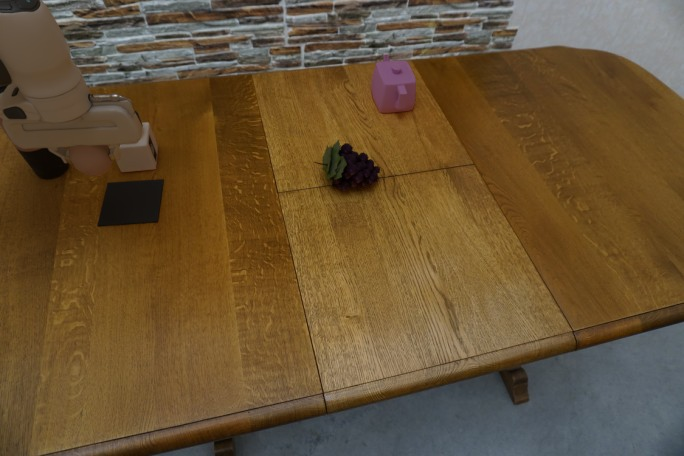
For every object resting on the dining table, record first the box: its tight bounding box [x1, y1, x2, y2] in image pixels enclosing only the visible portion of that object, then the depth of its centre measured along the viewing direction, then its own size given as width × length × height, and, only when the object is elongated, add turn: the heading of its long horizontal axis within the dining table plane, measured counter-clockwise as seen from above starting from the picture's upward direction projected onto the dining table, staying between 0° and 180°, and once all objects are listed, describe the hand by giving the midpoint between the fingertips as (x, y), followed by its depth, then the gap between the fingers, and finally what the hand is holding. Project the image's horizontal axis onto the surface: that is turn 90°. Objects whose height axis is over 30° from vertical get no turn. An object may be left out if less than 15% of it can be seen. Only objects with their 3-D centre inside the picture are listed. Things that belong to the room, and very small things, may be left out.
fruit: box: [313, 139, 381, 192], centre depth 102 cm, size 10×11×15 cm
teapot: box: [370, 54, 417, 114], centre depth 120 cm, size 18×10×10 cm, turn 11°
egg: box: [68, 145, 113, 177], centre depth 82 cm, size 7×7×9 cm
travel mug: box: [0, 83, 70, 180], centre depth 96 cm, size 8×8×20 cm
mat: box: [96, 178, 165, 228], centre depth 99 cm, size 12×12×1 cm
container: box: [109, 110, 159, 173], centre depth 102 cm, size 8×8×13 cm
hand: (93, 159), depth 83 cm, fingers closed on egg, 6 cm apart
